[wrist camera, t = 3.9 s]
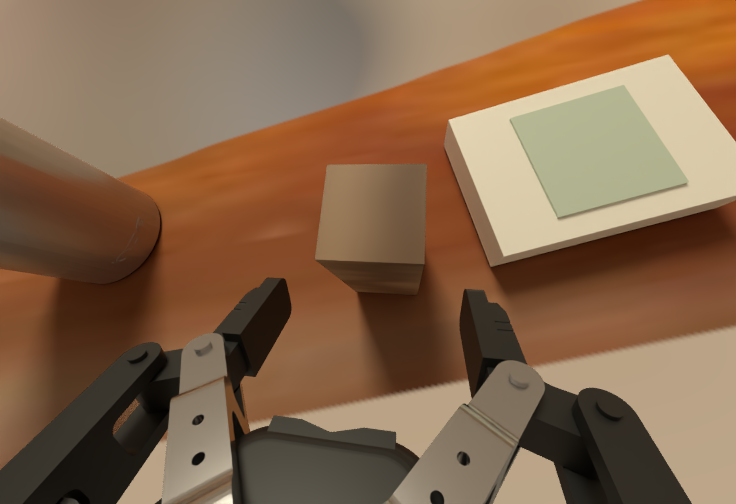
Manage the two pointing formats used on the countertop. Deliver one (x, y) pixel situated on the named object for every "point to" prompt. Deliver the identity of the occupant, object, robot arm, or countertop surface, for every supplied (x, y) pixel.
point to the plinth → (590, 160)
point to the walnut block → (374, 226)
